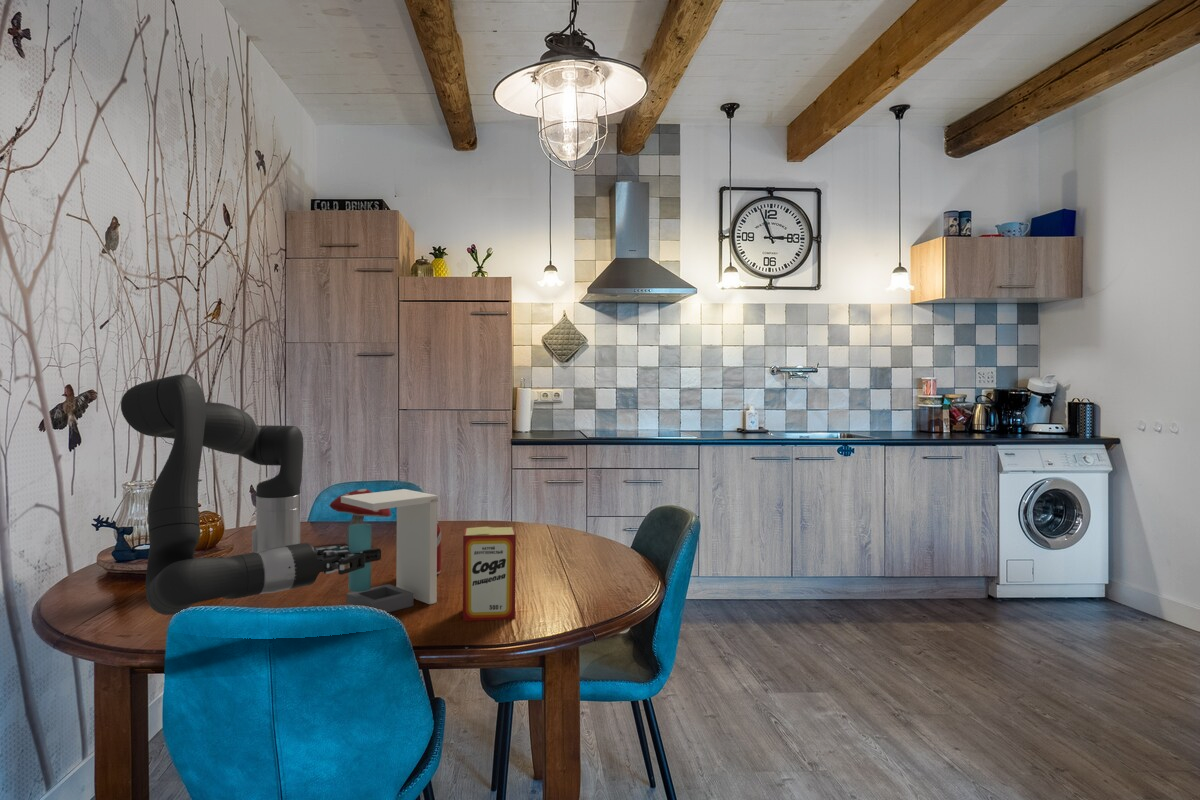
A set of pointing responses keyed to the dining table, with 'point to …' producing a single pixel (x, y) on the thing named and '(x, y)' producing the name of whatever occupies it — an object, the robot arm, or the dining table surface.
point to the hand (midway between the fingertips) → (373, 551)
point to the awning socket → (404, 549)
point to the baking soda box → (489, 573)
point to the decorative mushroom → (357, 510)
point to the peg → (360, 542)
